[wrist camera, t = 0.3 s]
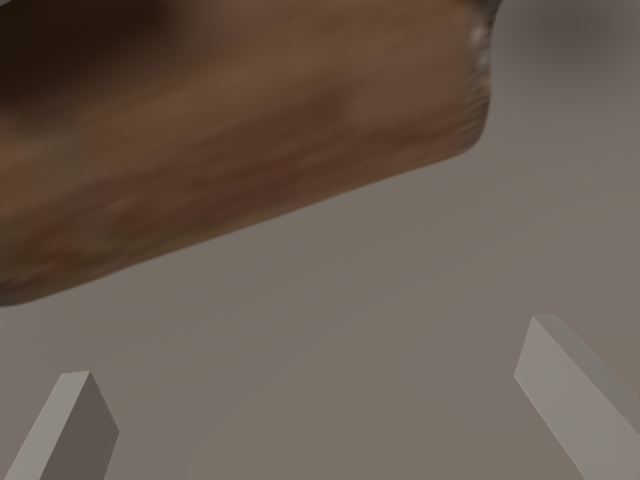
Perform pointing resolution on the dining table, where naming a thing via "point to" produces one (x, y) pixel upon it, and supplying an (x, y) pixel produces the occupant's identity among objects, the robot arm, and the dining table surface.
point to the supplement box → (4, 2)
